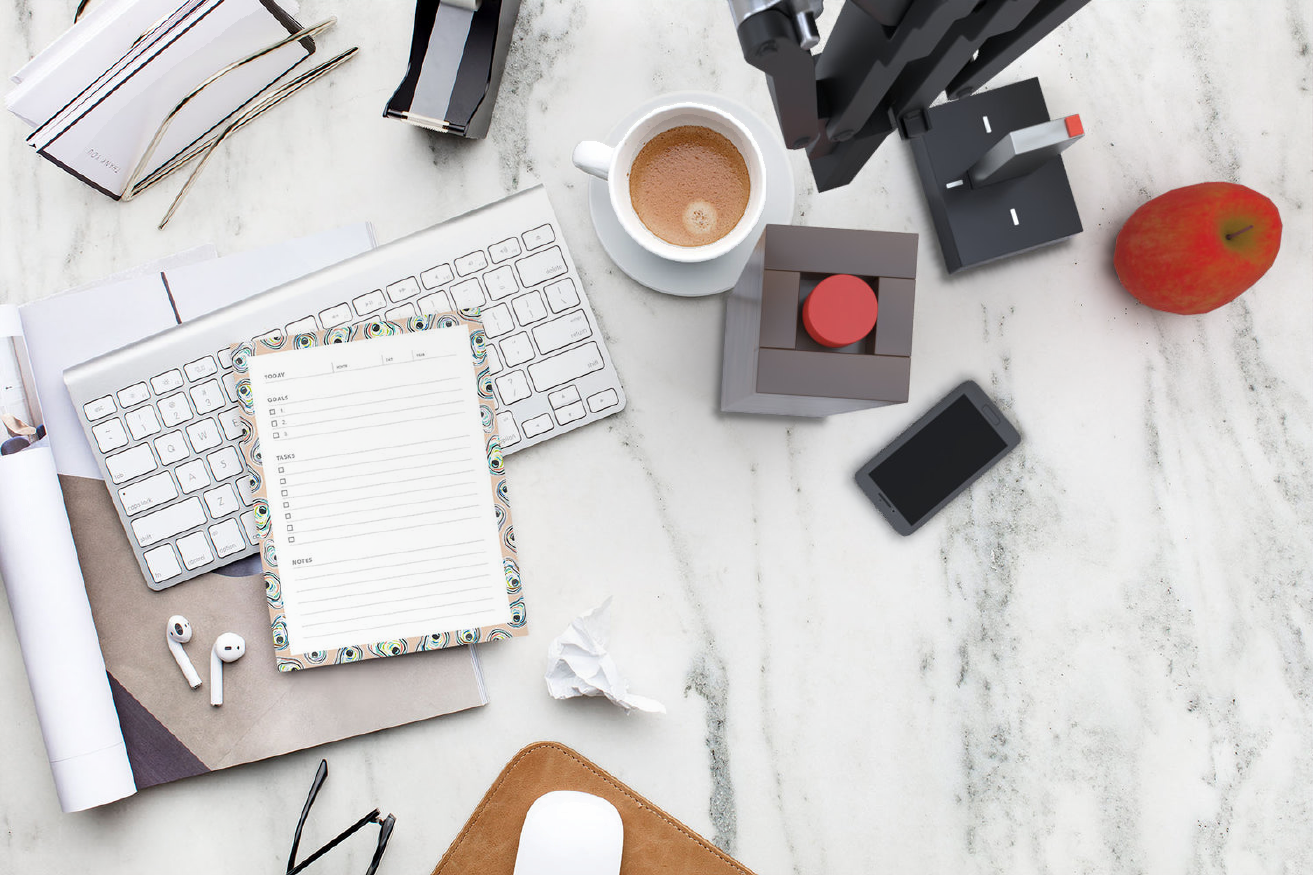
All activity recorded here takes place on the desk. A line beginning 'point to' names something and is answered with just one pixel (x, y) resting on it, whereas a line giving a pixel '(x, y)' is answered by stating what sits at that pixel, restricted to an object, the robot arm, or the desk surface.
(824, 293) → the button
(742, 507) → the desk surface
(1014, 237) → the panel
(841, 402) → the block
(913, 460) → the cell phone
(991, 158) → the stove knob
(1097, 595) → the desk surface
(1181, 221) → the apple
